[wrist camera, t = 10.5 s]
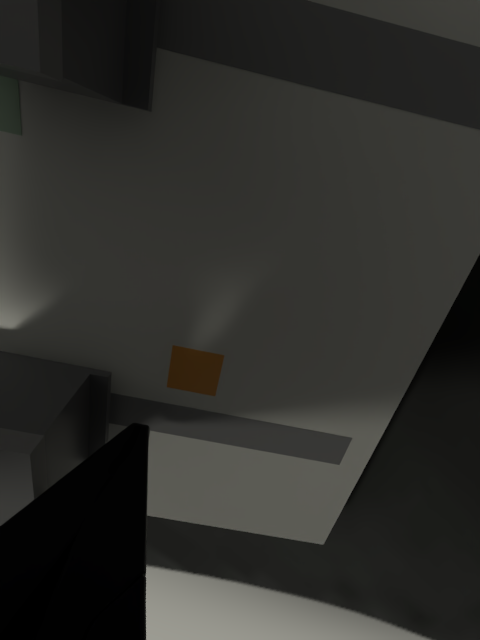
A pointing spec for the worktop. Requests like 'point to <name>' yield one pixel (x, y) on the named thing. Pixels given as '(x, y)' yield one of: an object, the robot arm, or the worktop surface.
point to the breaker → (83, 47)
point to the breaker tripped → (46, 424)
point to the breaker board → (251, 242)
